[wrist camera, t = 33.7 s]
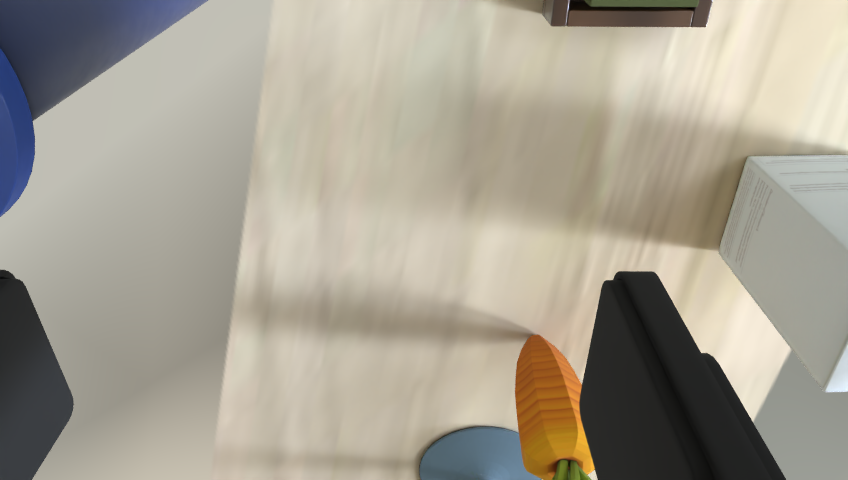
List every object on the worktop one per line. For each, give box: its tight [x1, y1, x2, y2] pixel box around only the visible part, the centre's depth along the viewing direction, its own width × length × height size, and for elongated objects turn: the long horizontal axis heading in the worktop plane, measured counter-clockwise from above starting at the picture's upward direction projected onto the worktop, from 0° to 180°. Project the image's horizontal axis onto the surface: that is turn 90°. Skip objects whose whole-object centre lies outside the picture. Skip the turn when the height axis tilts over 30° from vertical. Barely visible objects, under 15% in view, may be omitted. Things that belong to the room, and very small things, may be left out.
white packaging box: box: [719, 155, 848, 392], centre depth 34 cm, size 7×7×13 cm
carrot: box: [515, 335, 595, 480], centre depth 38 cm, size 5×5×15 cm
